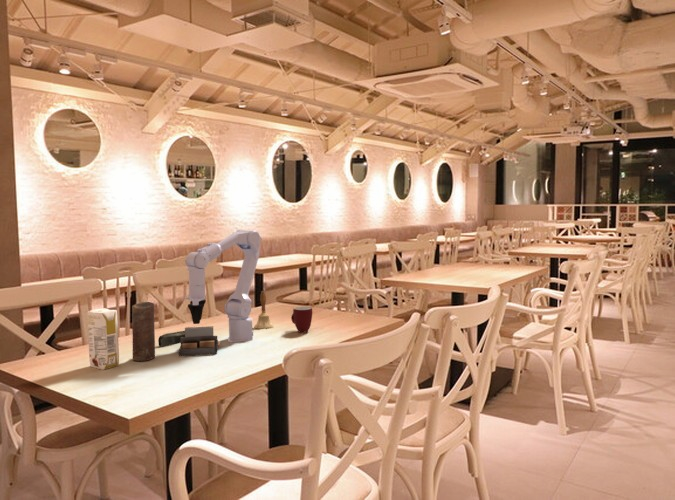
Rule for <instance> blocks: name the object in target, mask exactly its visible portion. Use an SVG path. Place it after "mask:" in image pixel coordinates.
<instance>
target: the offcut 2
mask: <svg viewBox="0 0 675 500" xmlns="http://www.w3.org/2000/svg"><path fill="white" fill-rule="evenodd" d="M202 347H214V340H213V341H200V348H202Z"/></svg>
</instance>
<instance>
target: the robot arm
mask: <svg viewBox="0 0 675 500" xmlns="http://www.w3.org/2000/svg"><path fill="white" fill-rule="evenodd" d="M261 242H262V237H261V235H260V233H259V231H257V230H255V229H251V230H249V229H247V230H245V229H244V230H243V229H237V230H236V231H232V233H231V234H229V235H228V236H227V237H225V238H223V239H222V240H221V241H219V242H217V243H216V242H208V243H206V246H204V247H202V248H198V249H197V251H192V252H189V253H188V255H187V256H186V259H184V262H185V265H186V266H187V271H188V296H185V300H189V301H190V303H188V304H187V307H188V310H189V313H190V315H191V319H192V323H193V325H199V324H200V323H201V320H202V317H203V312H204V307H205V304H206V301H207V300H206V299H207V298H206V272H205V271H206V269H205V268H206V267H207V266H208V265H209V263H210V262H212V261H214V260H216V258H218V257H220V256H222V255H221V254H222V252H223V251H225V250H227V249H229V248H232V247H233V246H235V245H236V246H237V247H238V248H239V249H240V250H241V252H243V254H244V257H243V261H242V265H241V268H240V272H239V275H238V279H237V282H236V286H235V290H234V292H233V293H231V295H230V296H229V297H228V299H227V301H226V303H225V304H224V313H225V315H226V316H227V318H228V339H227V342H229V343H231V342H248V341H249V342H252V341H254V340H253V336H254V331H253V317H249V316H250V314H251V313H252V302H253V301H252V299H251V298H250V297H249V294H250V289H251V286H252V282H253V280H254V275H255V273H256V269H257V265H258V260H259V257H260V245H261V244H262V243H261Z"/></svg>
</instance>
